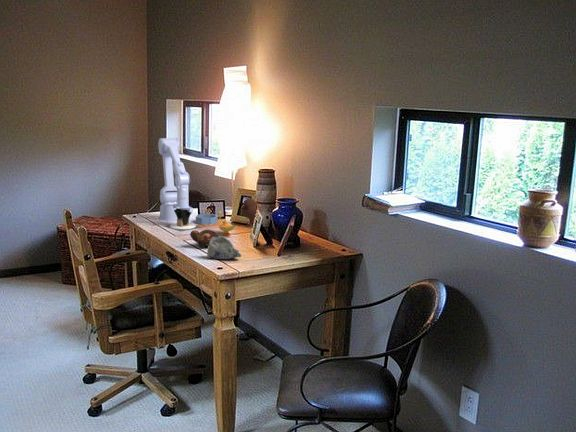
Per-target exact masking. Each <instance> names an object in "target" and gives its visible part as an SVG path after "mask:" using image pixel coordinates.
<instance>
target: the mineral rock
mask: <svg viewBox="0 0 576 432" xmlns="http://www.w3.org/2000/svg"><path fill="white" fill-rule="evenodd" d="M241 257H242V254H241V253H240V251H239V250H238V249H237V248H235V247H234V244H233V243H232V242H231V240H230V239H228V238H227V237H224V236H223V235H219V236H218V237H212V238H211V240H210V242H209V246H207V258H208V259H215V260H218V259H221V260H230V259H235V258H241Z"/></svg>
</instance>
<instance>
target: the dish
mask: <svg viewBox="0 0 576 432" xmlns="http://www.w3.org/2000/svg"><path fill="white" fill-rule="evenodd" d="M218 220H219V216H218V215H217V214H213V213H201V214H196V216H195V224H197V225H200V226H212V225H217V224H218Z"/></svg>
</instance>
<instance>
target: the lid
mask: <svg viewBox="0 0 576 432" xmlns="http://www.w3.org/2000/svg"><path fill="white" fill-rule="evenodd" d="M169 225H170V228H169V229H171V228H172V229H171V230H174V229H179V230H186V229H192V230H194V229H193V228H195V227H196V223H190V219H189V220H188V224H186V225H183V218H180V219H177V221H176V223H171V224H169ZM186 231H187V230H186Z"/></svg>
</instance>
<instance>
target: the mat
mask: <svg viewBox="0 0 576 432" xmlns="http://www.w3.org/2000/svg"><path fill="white" fill-rule="evenodd" d="M170 225H171V224H167V225H163V228H164V227H165V228H168V229H170V230H174V231H178V232H185V231H193V230H197V229H201V228H204V227H203V226H201V225H198V224H197V225H196V224H195V225H196V227H195V228H193V229H186V230H179V229H172V228H170Z"/></svg>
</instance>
